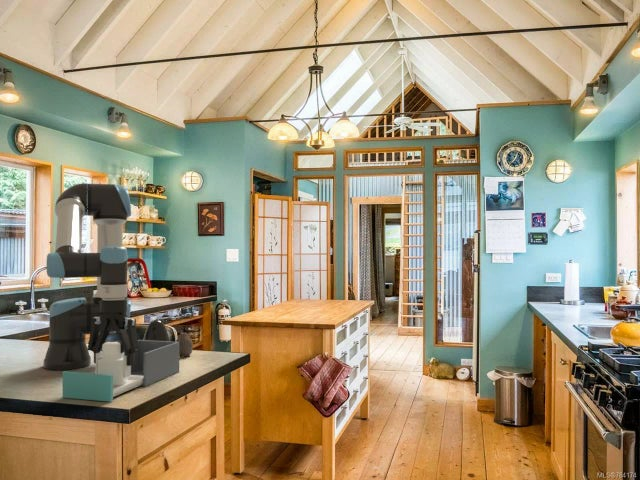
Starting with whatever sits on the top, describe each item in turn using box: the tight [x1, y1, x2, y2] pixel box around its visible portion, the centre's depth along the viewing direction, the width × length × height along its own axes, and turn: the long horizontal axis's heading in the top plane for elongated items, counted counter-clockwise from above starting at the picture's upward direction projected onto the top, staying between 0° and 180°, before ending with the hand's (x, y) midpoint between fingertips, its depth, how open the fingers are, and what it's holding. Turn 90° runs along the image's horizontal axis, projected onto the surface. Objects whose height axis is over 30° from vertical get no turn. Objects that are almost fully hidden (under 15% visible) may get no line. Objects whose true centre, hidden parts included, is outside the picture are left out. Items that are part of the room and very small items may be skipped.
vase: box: [175, 332, 194, 358], centre depth 209 cm, size 7×7×9 cm
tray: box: [61, 370, 144, 403], centre depth 159 cm, size 15×20×7 cm
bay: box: [124, 339, 180, 388], centre depth 175 cm, size 15×20×10 cm
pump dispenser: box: [142, 319, 171, 342], centre depth 200 cm, size 10×10×15 cm
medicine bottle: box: [97, 340, 128, 385], centre depth 161 cm, size 7×7×12 cm
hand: (113, 375), depth 161 cm, fingers closed on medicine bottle, 8 cm apart
